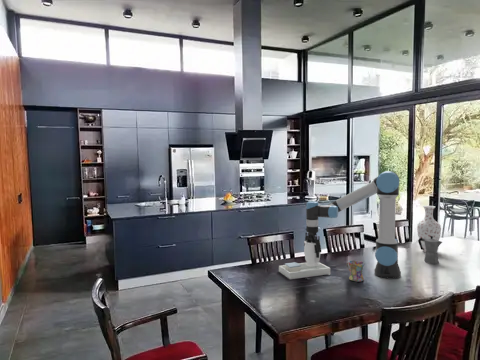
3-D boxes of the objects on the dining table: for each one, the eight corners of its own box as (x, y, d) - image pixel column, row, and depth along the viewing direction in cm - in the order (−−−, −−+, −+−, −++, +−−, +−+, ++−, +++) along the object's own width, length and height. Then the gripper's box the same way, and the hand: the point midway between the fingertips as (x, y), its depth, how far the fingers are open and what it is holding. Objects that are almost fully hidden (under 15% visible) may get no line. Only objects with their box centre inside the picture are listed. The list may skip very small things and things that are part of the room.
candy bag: (368, 280, 205) (368, 263, 204) (356, 283, 200) (356, 265, 200) (352, 275, 215) (352, 258, 215) (341, 278, 211) (341, 260, 210)
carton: (300, 275, 215) (300, 266, 215) (290, 276, 213) (290, 267, 213) (295, 271, 222) (295, 263, 221) (285, 273, 220) (285, 264, 219)
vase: (441, 250, 270) (441, 205, 269) (440, 255, 257) (440, 208, 255) (418, 247, 279) (418, 204, 277) (416, 252, 265) (416, 207, 263)
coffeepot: (444, 262, 239) (444, 236, 238) (439, 265, 233) (440, 238, 232) (420, 257, 250) (420, 233, 249) (415, 260, 244) (415, 235, 243)
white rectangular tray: (330, 275, 216) (330, 268, 216) (289, 280, 208) (289, 273, 208) (317, 267, 232) (317, 261, 231) (278, 272, 223) (278, 265, 223)
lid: (301, 266, 215) (301, 265, 215) (289, 267, 212) (289, 266, 212) (295, 263, 222) (295, 262, 222) (284, 264, 219) (284, 263, 219)
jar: (320, 267, 215) (320, 243, 214) (304, 266, 217) (303, 243, 216) (320, 262, 225) (320, 239, 225) (304, 261, 228) (304, 239, 227)
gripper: (298, 223, 230) (298, 256, 231) (316, 229, 208) (316, 265, 209) (308, 222, 232) (308, 255, 233) (327, 228, 210) (327, 264, 211)
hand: (312, 260), depth 221 cm, fingers closed on jar, 10 cm apart
